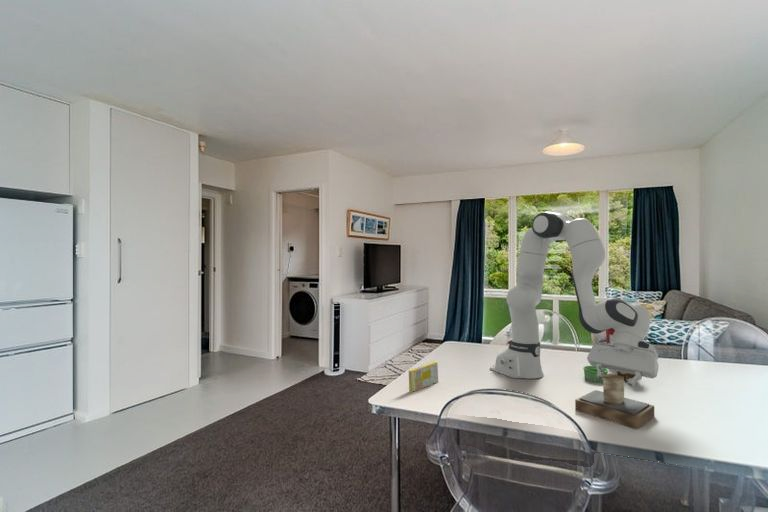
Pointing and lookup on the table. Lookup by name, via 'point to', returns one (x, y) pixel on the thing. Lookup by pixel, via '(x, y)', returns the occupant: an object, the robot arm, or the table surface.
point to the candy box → (423, 376)
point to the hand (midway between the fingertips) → (614, 381)
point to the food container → (625, 375)
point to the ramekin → (593, 373)
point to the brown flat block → (615, 409)
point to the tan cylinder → (613, 388)
